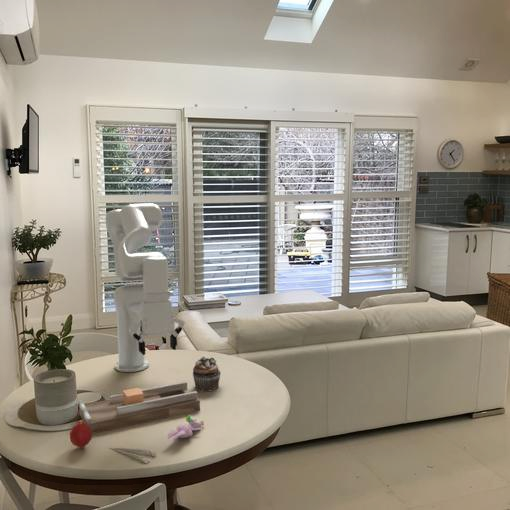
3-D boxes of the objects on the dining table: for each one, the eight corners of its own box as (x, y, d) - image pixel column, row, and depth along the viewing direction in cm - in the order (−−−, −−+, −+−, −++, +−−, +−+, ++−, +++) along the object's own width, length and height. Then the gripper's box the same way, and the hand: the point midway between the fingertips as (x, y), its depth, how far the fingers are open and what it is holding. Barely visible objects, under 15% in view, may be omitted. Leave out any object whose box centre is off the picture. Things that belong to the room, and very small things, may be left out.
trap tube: (79, 414, 166) (78, 399, 165) (184, 393, 181) (184, 379, 180) (88, 434, 153) (87, 417, 153) (199, 409, 169) (199, 394, 168)
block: (123, 402, 167) (122, 390, 166) (139, 399, 169) (138, 387, 169) (127, 409, 163) (127, 396, 162) (143, 405, 165) (143, 393, 164)
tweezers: (158, 457, 142) (157, 450, 142) (147, 466, 138) (146, 459, 138) (106, 447, 150) (105, 440, 150) (94, 455, 146) (93, 448, 145)
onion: (70, 444, 148) (68, 417, 146) (92, 440, 150) (90, 413, 148) (71, 455, 142) (69, 426, 141) (93, 451, 144) (92, 422, 143)
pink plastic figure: (190, 428, 160) (160, 442, 147) (191, 408, 160) (161, 420, 146) (208, 432, 157) (179, 447, 144) (209, 412, 157) (181, 425, 144)
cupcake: (189, 390, 184) (188, 362, 182) (198, 380, 193) (198, 353, 191) (215, 393, 181) (215, 364, 180) (224, 382, 191) (223, 355, 189)
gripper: (179, 291, 171) (180, 343, 174) (124, 297, 163) (127, 352, 166) (187, 296, 165) (188, 350, 167) (131, 302, 157) (133, 359, 159)
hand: (158, 351), depth 167 cm, fingers open, 9 cm apart
